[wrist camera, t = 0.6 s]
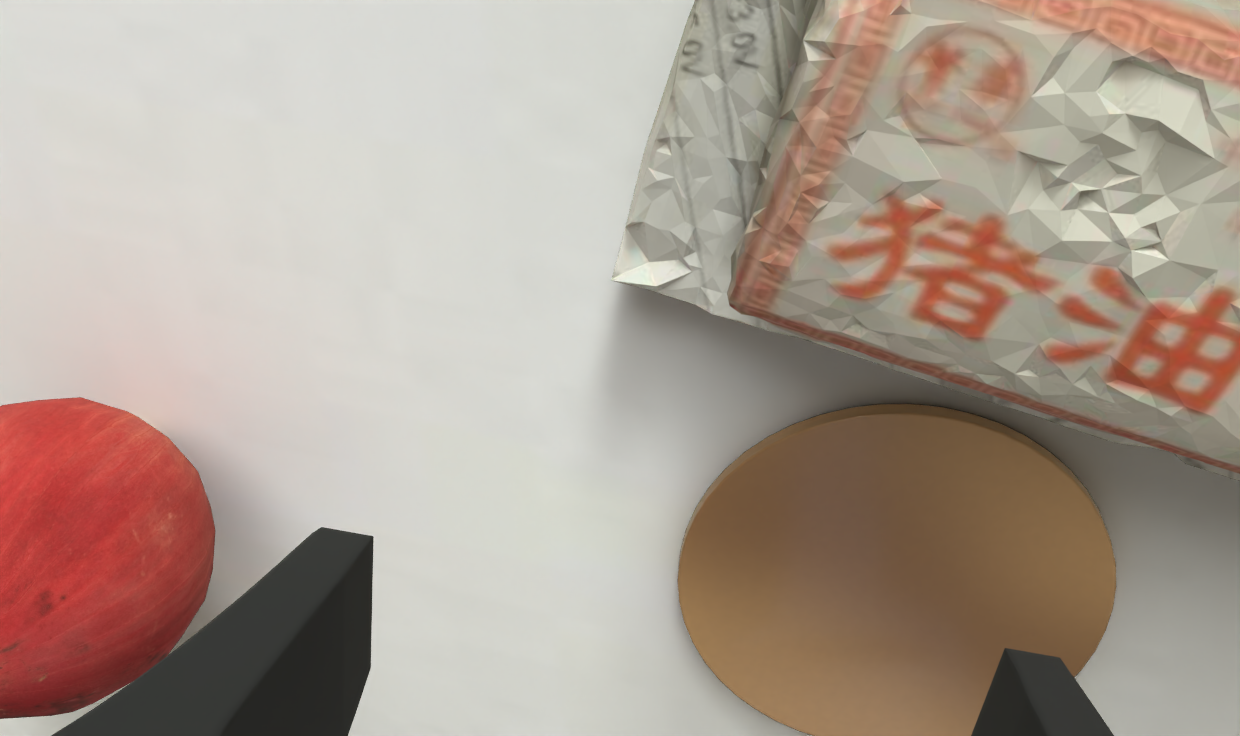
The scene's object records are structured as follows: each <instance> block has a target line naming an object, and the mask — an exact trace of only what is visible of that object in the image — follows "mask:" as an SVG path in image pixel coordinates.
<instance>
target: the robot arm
mask: <svg viewBox="0 0 1240 736" xmlns="http://www.w3.org/2000/svg"><path fill="white" fill-rule="evenodd" d="M372 574H373V536H368V535H363V534H357V533H351V532H346V531H340V530H334V529H329V528H323V527H321V528H320V529H318V530H317V531H315V532H313V533H312V534H311V535H310V536H309V537H307V538H306V539H305V540H304V541H303V542H302V543H301V544H300V545H299V546H298V547H296V548H295V549H294V550H293V551H292V552H291V553H290V554H289V555H288V556H286V557H285V558H284V559H283V560H282V561H281V562H280V563H279V564H278V565H276V566H275V567H274V568H273V569H272V570H271V571H270V572H269V573H267V574H266V575H265V576H264V577H263V578H262V579H261V580H260V581H258V582H257V583H256V584H255V585H254V586H253V587H251V588H250V589H249V590H248V591H247V592H246V593H245V594H243V595H242V596H241V597H240V598H239V599H238V600H236V601H235V602H234V603H233V604H232V605H230V606H229V607H228V608H227V609H225V610H224V611H223V612H222V613H221V614H219V615H218V616H217V617H216V618H214V619H213V620H212V621H211V622H210V623H208V624H207V625H206V626H205V627H204V628H202V629H201V630H200V631H199V632H197V633H196V634H195V635H194V636H193V637H191V638H190V639H189V640H188V641H186V642H185V643H184V644H182V645H181V646H180V647H179V648H177V649H176V650H175V651H173V652H172V653H171V654H169V655H168V656H166V657H165V658H164V659H162V660H161V661H160V662H158V663H157V664H156V665H154V666H153V667H152V668H150V669H149V670H148V671H146V672H145V673H144V674H142V675H141V676H139V677H138V678H137V679H135V680H134V681H133V682H131V683H130V684H129V685H127V686H126V687H125V688H123V689H122V690H120V691H119V692H117V693H116V694H115V695H113V696H112V697H110V698H109V699H107V700H106V701H104V702H103V703H101V704H100V705H98V706H97V707H95V708H94V709H92V710H91V711H89V712H88V713H86V714H85V715H83V716H82V717H80V718H79V719H77V720H76V721H74V722H72V723H71V724H69V725H68V726H66V727H64V728H63V729H61V730H60V731H58V732H56V733H55V734H53V735H52V736H348V733H349V730H350V728H351V725H352V722H353V719H354V716H355V713H356V710H357V707H358V704H359V701H360V698H361V695H362V692H363V689H364V686H365V683H366V680H367V677H368V674H369V671H370V668H371V621H372ZM971 736H1114V735H1113V733H1112V732H1111V731H1110V729H1109V728H1108V726H1107V725H1106V723H1105V722H1104V720H1103V719H1102V718H1101V716H1100V715H1099V713H1098V712H1097V710H1096V709H1095V707H1094V706H1093V705H1092V703H1091V702H1090V700H1089V699H1088V697H1087V696H1086V694H1085V693H1084V691H1083V690H1082V689H1081V687H1080V686H1079V684H1078V683H1077V681H1076V680H1075V678H1074V677H1073V675H1072V674H1071V673H1070V671H1069V670H1068V668H1067V667H1066V665H1065V664H1064V663H1063V661H1062V660H1061V658H1060V657H1054V656H1048V655H1043V654H1037V653H1031V652H1026V651H1020V650H1014V649H1009V648H1005V649H1004V651H1003V654H1002V657H1001V659H1000V662H999V664H998V667H997V670H996V672H995V675H994V677H993V680H992V683H991V685H990V688H989V690H988V693H987V696H986V698H985V701H984V703H983V706H982V709H981V711H980V714H979V716H978V719H977V722H976V724H975V727H974V729H973V732H972V735H971Z"/></svg>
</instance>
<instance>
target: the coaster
mask: <svg viewBox="0 0 1240 736" xmlns="http://www.w3.org/2000/svg"><path fill="white" fill-rule="evenodd" d="M1115 591H1116V563H1115V558H1114V553H1113V548H1112V543H1111V540H1110V537H1109V534H1108V532H1107V529H1106V527H1105V524H1104V522H1103V519H1102V517H1101V514H1100V512H1099V509H1098V508H1097V506H1096V504H1095V503H1094V501H1093V499H1092V498H1091V496H1090V494H1089V493H1088V491H1087V489H1086V488H1085V487H1084V486H1083V485H1082V483H1081V482H1080V481H1079V480H1078V479H1077V477H1076V476H1075V475H1074V474H1073V473H1072V472H1071V470H1070V469H1069V468H1068V467H1066V466H1065V465H1064V464H1063V463H1062V462H1061V461H1060V460H1058V459H1057V458H1056V457H1055V456H1054V455H1053V454H1052V453H1050V452H1049V451H1048V450H1046V449H1045V448H1043V447H1042V446H1040V445H1039V444H1037V443H1036V442H1034V441H1033V440H1031V439H1029V438H1028V437H1026V436H1025V435H1023V434H1021V433H1018V432H1016V431H1014V430H1012V429H1010V428H1008V427H1006V426H1004V425H1002V424H1000V423H997V422H994V421H991V420H989V419H986V418H983V417H980V416H977V415H974V414H971V413H966V412H962V411H957V410H953V409H948V408H943V407H936V406H926V405H916V404H878V405H870V406H861V407H853V408H847V409H843V410H838V411H834V412H830V413H825V414H821V415H818V416H815V417H813V418H810V419H807V420H804V421H801V422H798V423H796V424H793V425H791V426H789V427H787V428H785V429H783V430H781V431H779V432H777V433H775V434H773V435H771V436H769V437H767V438H765V439H764V440H762V441H761V442H759V443H758V444H756V445H755V446H753V447H752V448H750V449H749V450H747V451H746V452H744V453H743V454H742V455H741V456H740V457H739V458H737V459H736V460H735V461H734V462H733V463H732V464H730V465H729V466H728V467H727V468H726V469H725V470H724V471H723V472H722V473H721V474H720V475H719V477H718V478H717V479H716V480H715V481H714V482H713V483H712V485H711V486H710V487H709V488H708V489H707V491H706V493H705V494H704V496H703V497H702V499H701V500H700V502H699V503H698V505H697V506H696V508H695V510H694V512H693V515H692V517H691V519H690V521H689V524H688V526H687V528H686V532H685V535H684V539H683V543H682V547H681V551H680V560H679V571H678V592H679V603H680V607H681V611H682V615H683V619H684V623H685V625H686V628H687V630H688V632H689V635H690V637H691V639H692V642H693V644H694V645H695V647H696V649H697V650H698V652H699V654H700V655H701V657H702V658H703V660H704V662H705V663H706V664H707V665H708V667H709V668H710V669H711V670H712V671H713V673H714V674H715V675H716V676H717V678H718V679H719V680H720V681H721V682H722V683H723V684H725V685H726V686H727V687H728V688H729V689H730V690H731V691H732V692H733V693H734V694H735V695H737V696H738V697H739V698H741V699H742V700H743V701H745V702H746V703H747V704H749V705H750V706H751V707H753V708H754V709H756V710H758V711H759V712H761V713H763V714H765V715H766V716H768V717H770V718H772V719H773V720H775V721H777V722H780V723H782V724H784V725H786V726H789V727H791V728H793V729H795V730H798V731H801V732H804V733H807V734H810V735H813V736H971V735H972V732H973V729H974V727H975V724H976V722H977V719H978V716H979V714H980V711H981V709H982V706H983V703H984V701H985V698H986V696H987V693H988V690H989V688H990V685H991V683H992V680H993V677H994V675H995V672H996V670H997V667H998V664H999V662H1000V659H1001V657H1002V654H1003V651H1004V649H1005V648H1009V649H1014V650H1020V651H1026V652H1031V653H1037V654H1043V655H1048V656H1054V657H1060V658H1061V660H1062V661H1063V663H1064V664H1065V665H1066V667H1067V668H1068V670H1069V671H1070V673H1071V674H1072V675H1073V677H1075V676H1076V675H1077V674H1078V673H1079V672H1080V671H1081V670H1082V668H1083V667H1084V666H1085V664H1086V663H1087V661H1088V660H1089V659H1090V657H1091V656H1092V655H1093V653H1094V652H1095V650H1096V648H1097V646H1098V644H1099V642H1100V640H1101V639H1102V637H1103V635H1104V633H1105V631H1106V628H1107V625H1108V622H1109V619H1110V616H1111V613H1112V610H1113V604H1114V598H1115Z"/></svg>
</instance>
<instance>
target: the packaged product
mask: <svg viewBox="0 0 1240 736" xmlns="http://www.w3.org/2000/svg"><path fill="white" fill-rule="evenodd" d="M611 281H616V282H620V283H624V284H628V285H633V286H637V287H641V288H644V289H648V290H651V291H654V292H657V293H660V294H663V295H666V296H670V297H673V298H676V299H679V300H682V301H685V302H689V303H692V304H695V305H697V306H698V307H700V308H702V309H704V310H706V311H707V312H709V313H711V314H713V315H717V316H720V317H724V318H727V319H731V320H734V321H737V322H741V323H744V324H748V325H751V326H755V327H758V328H761V329H764V330H767V331H771V332H775V333H779V334H783V335H787V336H792V337H797V338H801V339H804V340H807V341H810V342H813V343H816V344H819V345H823V346H826V347H829V348H832V349H835V350H838V351H841V352H844V353H847V354H850V355H853V356H856V357H859V358H862V359H865V360H868V361H871V362H874V363H877V364H881V365H883V366H885V367H887V368H890V369H892V370H895V371H899V372H902V373H906V374H909V375H912V376H915V377H918V378H921V379H923V380H926V381H929V382H932V383H935V384H938V385H941V386H943V387H946V388H949V389H952V390H955V391H958V392H961V393H964V394H968V395H971V396H974V397H977V398H980V399H983V400H986V401H989V402H992V403H996V404H999V405H1002V406H1005V407H1008V408H1012V409H1015V410H1018V411H1021V412H1025V413H1028V414H1031V415H1034V416H1038V417H1041V418H1044V419H1046V420H1049V421H1051V422H1054V423H1056V424H1059V425H1062V426H1065V427H1068V428H1071V429H1074V430H1077V431H1080V432H1083V433H1087V434H1090V435H1093V436H1096V437H1099V438H1102V439H1105V440H1109V441H1112V442H1115V443H1119V444H1127V445H1135V446H1142V447H1148V448H1154V449H1160V450H1166V451H1169V452H1172V453H1174V454H1175V455H1176V456H1177V457H1178V458H1179V459H1181V460H1182V461H1183V462H1184V463H1185V464H1187V465H1191V466H1194V467H1197V468H1201V469H1204V470H1207V471H1210V472H1213V473H1216V474H1219V475H1222V476H1226V477H1229V478H1232V479H1235V480H1238V481H1240V0H695V2H694V5H693V7H692V10H691V12H690V15H689V17H688V20H687V23H686V26H685V29H684V32H683V35H682V38H681V41H680V44H679V47H678V50H677V53H676V56H675V59H674V62H673V65H672V68H671V72H670V75H669V78H668V81H667V84H666V87H665V90H664V93H663V96H662V99H661V102H660V105H659V108H658V111H657V114H656V117H655V120H654V123H653V126H652V129H651V132H650V135H649V138H648V141H647V144H646V148H645V151H644V154H643V158H642V162H641V166H640V171H639V175H638V179H637V183H636V187H635V191H634V195H633V199H632V203H631V207H630V211H629V215H628V219H627V223H626V227H625V231H624V235H623V239H622V242H621V246H620V250H619V254H618V258H617V261H616V265H615V269H614V273H613V276H612V279H611Z"/></svg>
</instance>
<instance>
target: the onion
mask: <svg viewBox="0 0 1240 736" xmlns="http://www.w3.org/2000/svg"><path fill="white" fill-rule="evenodd" d="M214 542H215V526H214V521H213V516H212V512H211V507H210V504H209V501H208V498H207V495H206V493H205V490H204V487H203V484H202V482H201V479H200V476H199V473H198V471H197V470H196V469H195V468H194V466H193V465H192V464H191V463H190V462H189V461H188V460H187V458H186V457H185V456H184V455H183V454H182V453H181V452H180V450H179V449H178V448H177V447H176V446H175V445H174V444H173V442H172V441H171V440H170V439H169V438H168V437H167V436H165V435H164V434H162V433H161V432H159V431H158V430H156V429H155V428H153V427H152V426H150V425H149V424H147V423H146V422H144V421H143V420H142V419H140V418H139V417H137V416H135V415H133V414H131V413H129V412H127V411H124V410H120V409H117V408H114V407H110V406H107V405H104V404H100V403H97V402H94V401H90V400H87V399H84V398H80V397H79V398H65V399H50V400H37V401H29V402H22V403H15V404H8V405H2V406H0V719H4V718H20V717H36V716H52V715H58V714H63V713H69V712H73V711H76V710H78V709H81V708H83V707H85V706H88V705H90V704H93V703H95V702H96V701H98V700H100V699H102V698H104V697H105V696H107V695H109V694H111V693H113V692H114V691H116V690H118V689H120V688H122V687H124V686H125V685H127V684H129V683H131V682H133V681H134V680H135V679H137V678H138V677H139V676H141V675H142V674H144V673H145V672H146V671H148V670H149V669H150V668H152V667H153V666H154V665H156V664H157V663H158V662H160V661H161V660H162V659H164V658H165V657H166V656H167V655H168V654H169V653H170V651H171V650H172V649H173V647H174V646H175V645H176V644H177V642H178V641H179V640H180V638H181V637H182V635H183V634H184V632H185V630H186V629H187V627H188V626H189V624H190V622H191V621H192V619H193V618H194V616H195V615H196V613H197V611H198V610H199V608H200V607H201V605H202V603H203V602H204V600H205V597H206V593H207V589H208V585H209V582H210V578H211V574H212V570H213V556H214Z"/></svg>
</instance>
